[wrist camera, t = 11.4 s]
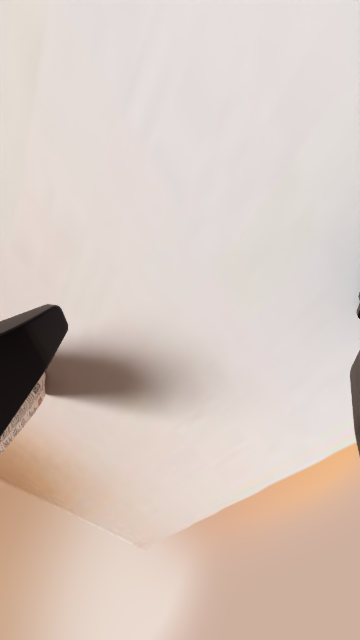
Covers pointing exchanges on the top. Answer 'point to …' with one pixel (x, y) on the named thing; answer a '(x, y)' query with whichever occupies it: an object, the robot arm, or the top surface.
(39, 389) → the juice carton
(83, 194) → the top surface
